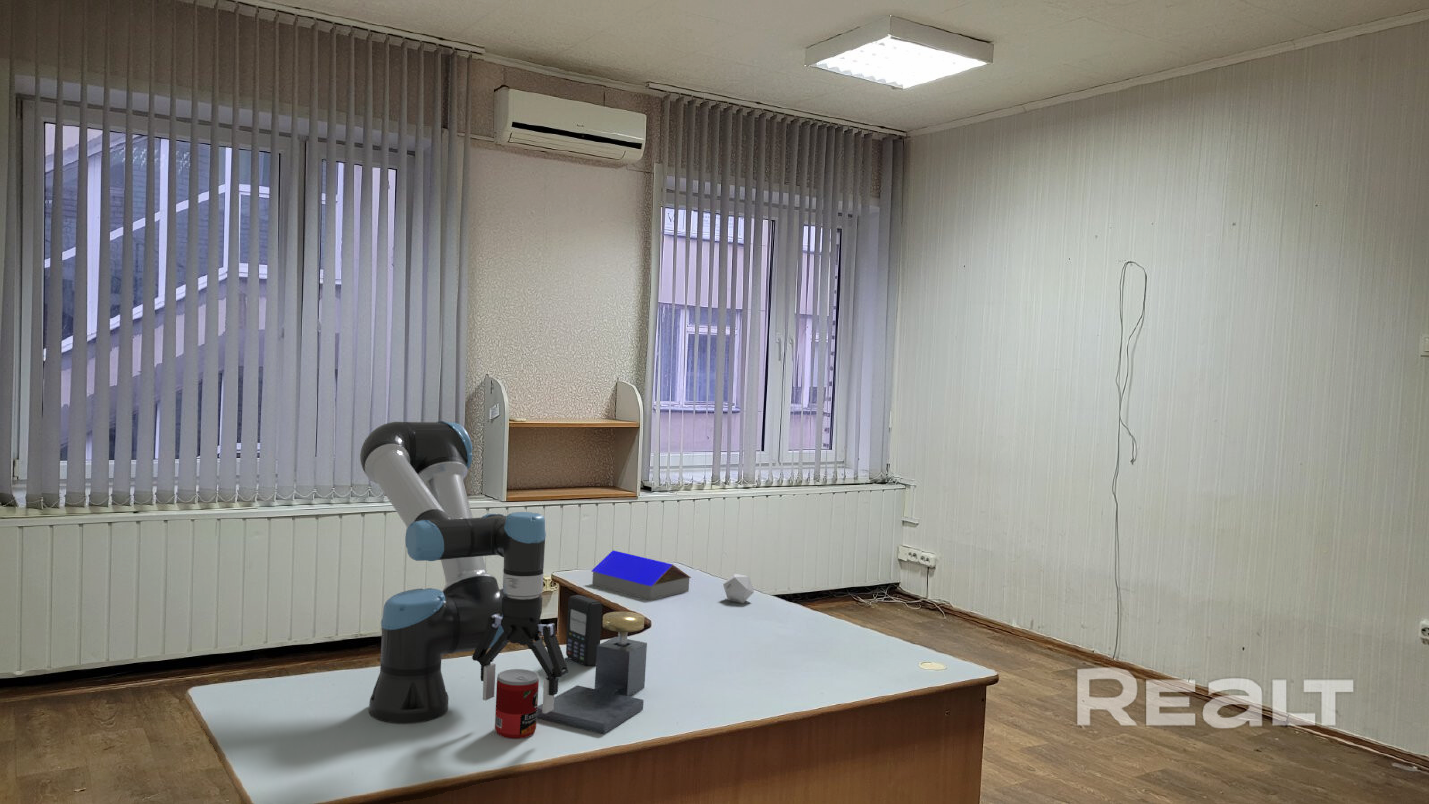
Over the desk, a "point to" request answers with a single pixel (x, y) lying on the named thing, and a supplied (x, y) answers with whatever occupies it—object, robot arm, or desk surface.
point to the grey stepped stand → (604, 690)
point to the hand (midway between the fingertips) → (517, 704)
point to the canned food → (516, 703)
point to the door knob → (623, 624)
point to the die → (738, 588)
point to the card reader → (583, 629)
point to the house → (639, 576)
